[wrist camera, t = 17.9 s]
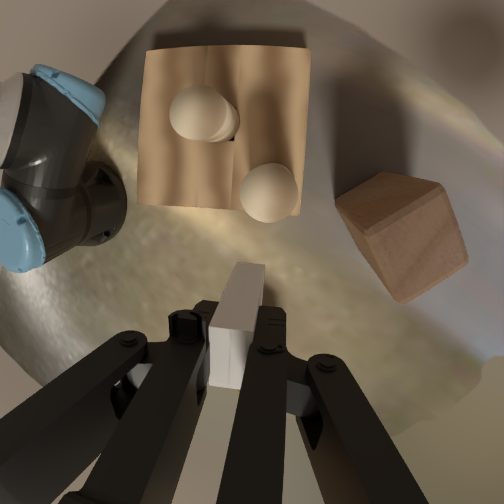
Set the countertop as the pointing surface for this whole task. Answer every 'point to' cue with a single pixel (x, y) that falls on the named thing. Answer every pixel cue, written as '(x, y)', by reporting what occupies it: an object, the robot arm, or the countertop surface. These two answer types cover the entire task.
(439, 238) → the block
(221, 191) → the seat board
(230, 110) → the peg
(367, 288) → the countertop surface
